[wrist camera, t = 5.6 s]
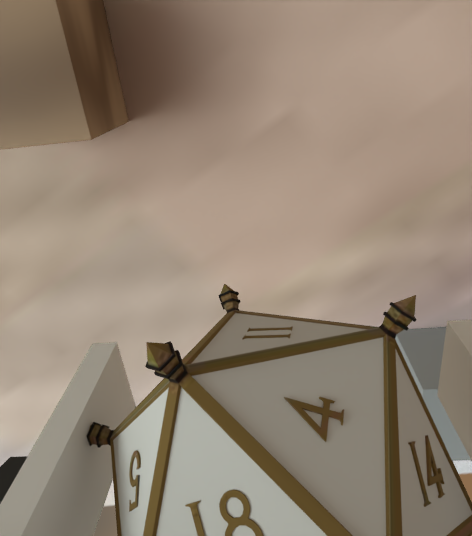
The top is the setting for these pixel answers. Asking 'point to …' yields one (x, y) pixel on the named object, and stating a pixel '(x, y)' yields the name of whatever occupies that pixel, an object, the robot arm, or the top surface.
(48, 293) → the top surface
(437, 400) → the slate grey cube
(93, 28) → the walnut cube
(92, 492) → the robot arm
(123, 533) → the game die
